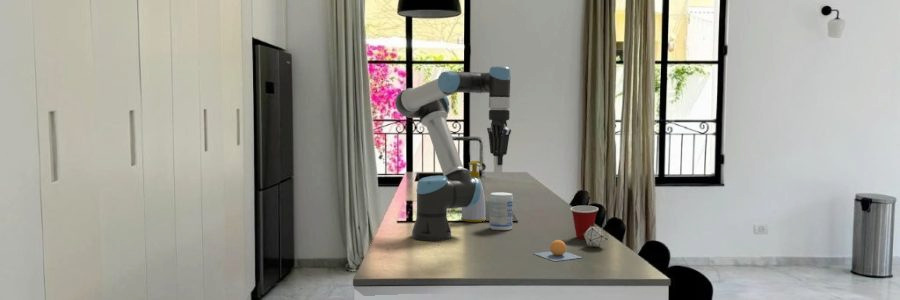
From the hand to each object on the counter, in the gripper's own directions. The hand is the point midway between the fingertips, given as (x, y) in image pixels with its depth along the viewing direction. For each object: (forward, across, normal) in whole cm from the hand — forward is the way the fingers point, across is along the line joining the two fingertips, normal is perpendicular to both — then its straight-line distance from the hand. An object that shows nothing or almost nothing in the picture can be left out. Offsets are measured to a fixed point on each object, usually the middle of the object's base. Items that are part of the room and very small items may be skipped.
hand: (497, 173), depth 249 cm
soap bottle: (+27, +47, -17) cm, 57 cm away
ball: (+24, -24, -10) cm, 35 cm away
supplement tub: (+27, +26, -18) cm, 41 cm away
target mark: (+26, -24, -10) cm, 37 cm away
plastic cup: (+27, -3, -38) cm, 46 cm away
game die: (+27, -18, -31) cm, 45 cm away
